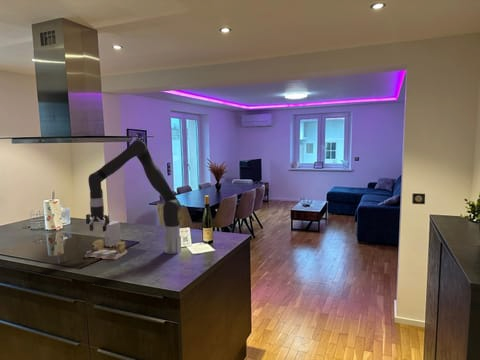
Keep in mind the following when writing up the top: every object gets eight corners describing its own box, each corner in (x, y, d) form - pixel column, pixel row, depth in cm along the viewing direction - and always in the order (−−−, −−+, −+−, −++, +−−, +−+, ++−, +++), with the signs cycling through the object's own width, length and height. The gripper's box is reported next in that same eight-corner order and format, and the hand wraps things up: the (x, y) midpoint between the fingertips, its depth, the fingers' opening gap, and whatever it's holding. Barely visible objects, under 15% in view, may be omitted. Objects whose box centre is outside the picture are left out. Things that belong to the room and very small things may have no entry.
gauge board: (127, 252, 197) (126, 240, 196) (115, 259, 184) (115, 247, 184) (98, 250, 201) (97, 238, 200) (84, 257, 188) (84, 245, 187)
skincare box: (114, 242, 217) (114, 220, 215) (121, 244, 213) (120, 221, 212) (104, 245, 209) (103, 223, 208) (110, 247, 206) (109, 224, 204)
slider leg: (103, 249, 197) (103, 239, 197) (95, 253, 189) (94, 243, 189) (99, 248, 198) (98, 239, 197) (90, 253, 190) (90, 243, 189)
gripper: (111, 204, 195) (112, 230, 196) (90, 203, 197) (91, 229, 199) (103, 206, 187) (105, 233, 189) (82, 205, 190) (83, 232, 191)
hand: (98, 231), depth 194 cm, fingers open, 8 cm apart
